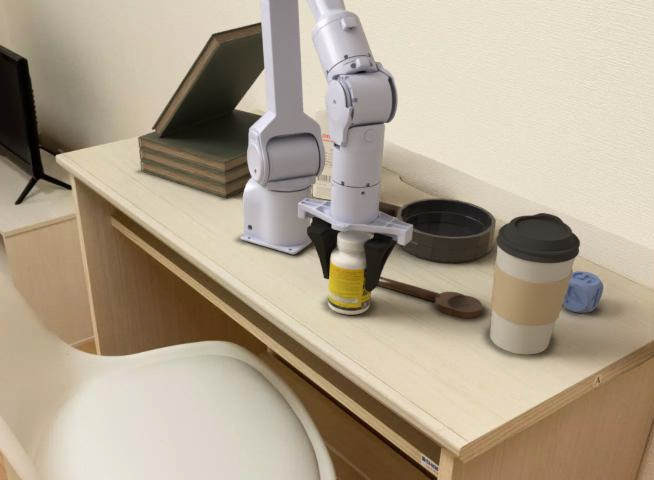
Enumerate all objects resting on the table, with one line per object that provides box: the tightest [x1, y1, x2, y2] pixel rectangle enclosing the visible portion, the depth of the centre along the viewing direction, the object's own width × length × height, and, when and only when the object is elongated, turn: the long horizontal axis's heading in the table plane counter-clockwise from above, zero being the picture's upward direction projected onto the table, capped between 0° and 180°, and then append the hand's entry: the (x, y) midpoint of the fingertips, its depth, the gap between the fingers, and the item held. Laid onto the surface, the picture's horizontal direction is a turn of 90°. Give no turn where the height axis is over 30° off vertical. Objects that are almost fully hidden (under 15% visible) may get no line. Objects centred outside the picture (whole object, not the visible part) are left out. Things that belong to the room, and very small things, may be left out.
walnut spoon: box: [378, 276, 483, 319], centre depth 104 cm, size 19×4×1 cm, turn 60°
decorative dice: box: [562, 270, 604, 314], centre depth 102 cm, size 4×4×4 cm
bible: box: [137, 21, 302, 199], centre depth 136 cm, size 23×20×25 cm
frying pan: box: [395, 197, 497, 263], centre depth 117 cm, size 14×14×4 cm
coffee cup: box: [489, 212, 581, 355], centre depth 91 cm, size 9×9×15 cm
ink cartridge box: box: [312, 108, 333, 201], centre depth 128 cm, size 9×5×15 cm, turn 68°
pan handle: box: [379, 200, 402, 219], centre depth 121 cm, size 9×2×2 cm, turn 60°
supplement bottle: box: [327, 230, 372, 316], centre depth 99 cm, size 5×5×10 cm
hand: (350, 281), depth 100 cm, fingers closed on supplement bottle, 5 cm apart
